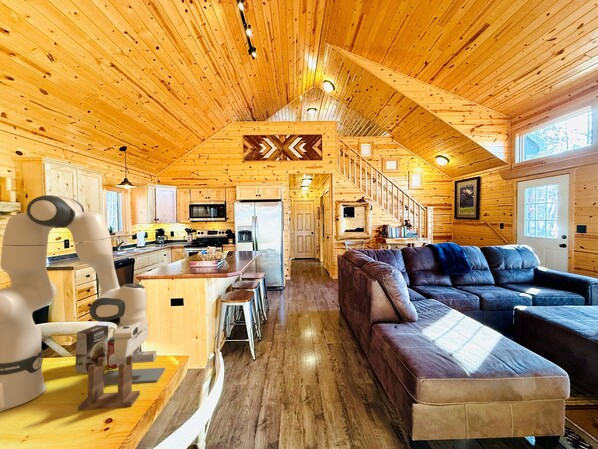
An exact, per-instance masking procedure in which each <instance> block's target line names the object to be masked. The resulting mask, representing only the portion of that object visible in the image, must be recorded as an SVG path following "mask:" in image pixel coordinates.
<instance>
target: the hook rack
mask: <svg viewBox="0 0 598 449" xmlns="http://www.w3.org/2000/svg"><path fill="white" fill-rule="evenodd" d="M132 357H133V356H127V357H126V364H125V363H120V364H119V367H118V368H117V369H118V385H117V391H116V392H115V391H113V392H104V390H105V388H104V387H105V385H104V374H105V364H104V363H105V357H99V358H98V366H97V367H96V365H90V366H88V373H87V396H86V397H85V398H84V399H83V400H82V401H81V402H80V403H79V404H78V405H77V411H88V410H90V411H91V410H101V409H113V408H114V409H115V408H126V407H127V408H128V407H129V408H130V407H132V406H133V405H134V404H135V402H136V400H138V398H139V397H140V394H141V393H140V390H132V385H133V384H132V369H133V363H132Z"/></svg>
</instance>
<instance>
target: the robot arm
mask: <svg viewBox="0 0 598 449" xmlns="http://www.w3.org/2000/svg"><path fill="white" fill-rule="evenodd" d="M58 228H59V229H60V228H62V229H64V228H66V229H67V230H68V231H70V234H71V236H72V241H73V245H74V249H75V253H76V254H77V257H78V259H79V261H81V263H83V264H85V265H87V266H89V267H91V268H92V269H93V270H94V271H95V274H96V275H97V276H96V277H97V280H98V283H99V287H100V295H99V297H97V298H96V299H95V300H93V302H92V303H91V304H90V306H89V311H88V313H89V316H90V317H91V318H92V320H95V321H96V322H99V323H104V322H108V321H109V322H110V321H112V320H117V319H119V323H118V325H117V328H116V329H115V330H114V331H113V335H112V337H113V338H116V339H115V342H114V357H115V359H116V360H124V359H126V357H127V356H132V354H133V352H140V349H141V345H142V344H143V343H144V342H145V341H146V340H147V339H148V336H149V324H148V322H147V313H146V312H147V311H146V308H147V305H148V303H147V300H148V298H147V290H146V288H145V286H144V285H142V284H139V283H126V284H123V286H122V285H120V280H119V278H118V273H117V270H116V267H115V261H114V253H113V252H114V251H113V245H112V244H113V243H112V239H111V233H110V231H109V227H108V224H107V223H106V220H105V218H104V216H103V215H102V214H100V213H99V212H96V211H85V209H84V207H83V205H82V204H81V203H80V202H78V201H77V200H75V199H73V198H69V197H66V196H60V195H59V196H58V195H48V194H47V195H40V196H37V197H34V198H33V199H32V200H30V201H29V203H28V204H27V206H26V212H20V213H16V214H13V215H12V216H10V217H9V218H8V220H7V223H6V226H5V228H4V232H3V235H2V243H1V253H0V254H1V255H0V268H1V270H3V271H4V272H6V274H7V275H8V277H9V279H10V286H7V287H2V288H0V413H1V412H3V411H6V410H8V409H11V408H14V407H17V406H20V405H23V404H25V403H27V402H29V401H32V400H34V399H36V398H37V397H39V396H41V394H43V393H44V392H45V391H46V390H47V385H46V383H45V381H44V376H43V369H42V365H43V359H44V358H43V357H44V354H43V353H44V352H43V351H44V350H43V349H42V336H43V335H42V334H43V330H42V328H41V326H38V325H37V324H36V323H35V321H34V318H33V313H34V312H35V311H38V310H40V309H42V308H45V307H46V306H47V305H48V304H50V303H51V302H52V301H53V300H54V299H56V296H57V294H58V289H57V286H56V285H55V284H54V283H53V282H52V281H51V279H50V277H49V272H48V268H47V258H48V257H47V255H48V244H49V243H48V242H49V234H50V232H51V231H52V229H58ZM133 359H134V357H132V362H133Z"/></svg>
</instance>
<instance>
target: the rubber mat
mask: <svg viewBox="0 0 598 449" xmlns="http://www.w3.org/2000/svg"><path fill="white" fill-rule="evenodd" d="M164 370H165V371H166V367H152V368H136V369H133V368H132V385H133V384H147V383H158V381H159V379H160V378H161V377H162V375H163V374H164V372H165V371H164ZM115 385H117V386H118V370H115V369H113V370H107V371H106V372H104V386H115Z"/></svg>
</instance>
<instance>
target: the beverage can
mask: <svg viewBox="0 0 598 449" xmlns="http://www.w3.org/2000/svg"><path fill="white" fill-rule="evenodd" d="M115 339H116V338H113V336H111V337H110V338H109V337H108V345H107V363H106V368H108V369H109V368H115V369H118V368H117V367H119V364H112V365H109V357H110V356H111V355H112V354H113V353H114V342H115Z"/></svg>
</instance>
